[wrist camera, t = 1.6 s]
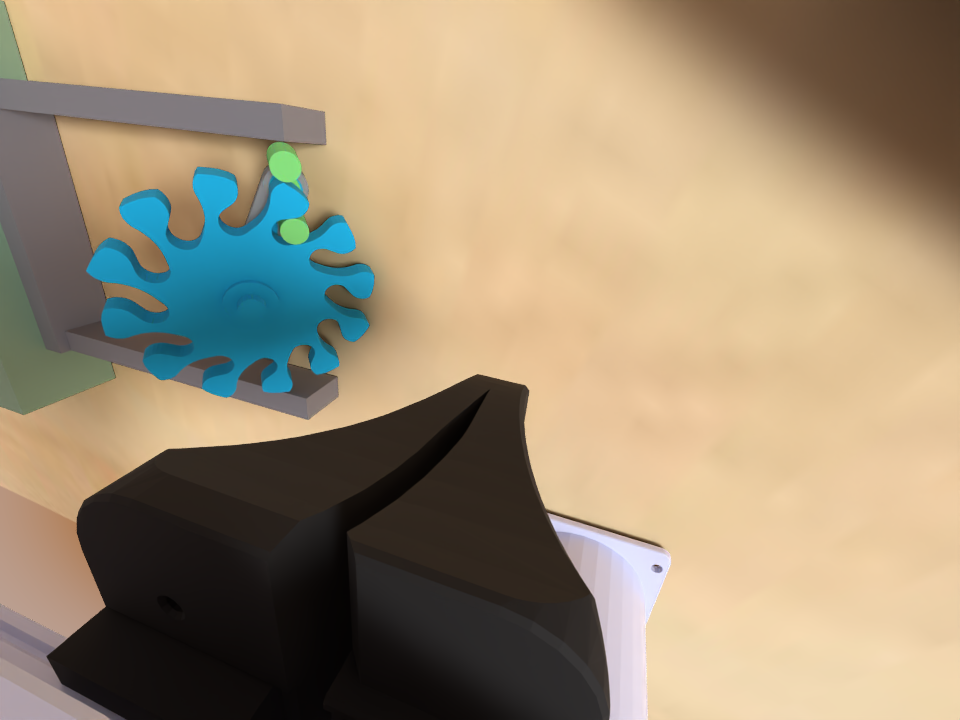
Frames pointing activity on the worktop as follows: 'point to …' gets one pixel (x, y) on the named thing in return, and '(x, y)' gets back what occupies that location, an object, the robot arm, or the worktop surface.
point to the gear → (235, 280)
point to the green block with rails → (66, 248)
